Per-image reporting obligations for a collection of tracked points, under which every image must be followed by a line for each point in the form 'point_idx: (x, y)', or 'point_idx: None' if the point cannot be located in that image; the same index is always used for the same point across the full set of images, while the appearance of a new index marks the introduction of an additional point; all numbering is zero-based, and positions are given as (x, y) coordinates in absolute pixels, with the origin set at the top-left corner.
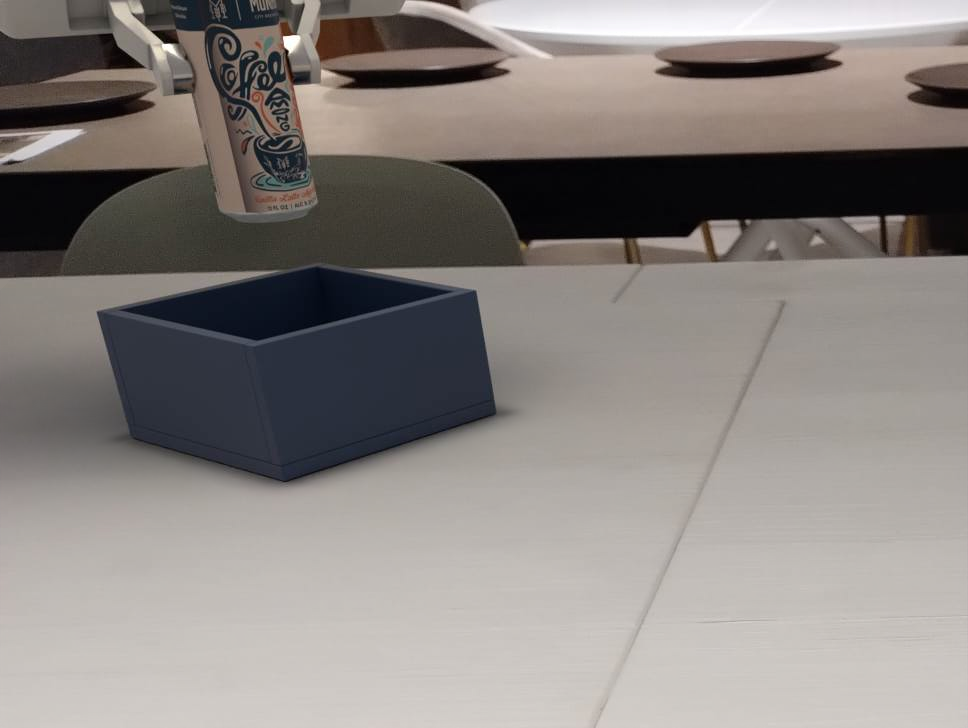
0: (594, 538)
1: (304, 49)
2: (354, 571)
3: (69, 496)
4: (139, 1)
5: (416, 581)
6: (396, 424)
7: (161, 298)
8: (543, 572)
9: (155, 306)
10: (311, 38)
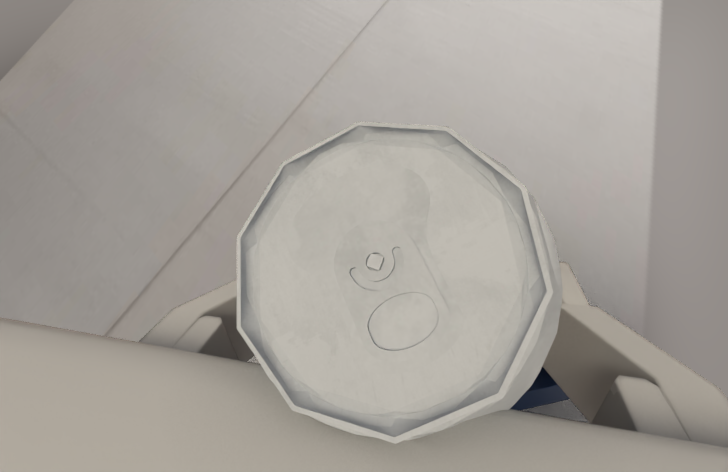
0: (387, 48)
1: None
2: (490, 60)
3: (610, 261)
4: (636, 418)
5: (471, 37)
6: None
7: (523, 402)
8: (422, 23)
9: (531, 389)
10: None
